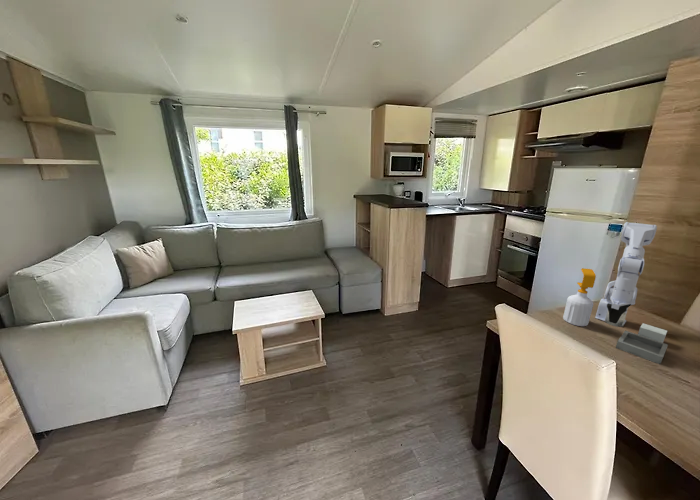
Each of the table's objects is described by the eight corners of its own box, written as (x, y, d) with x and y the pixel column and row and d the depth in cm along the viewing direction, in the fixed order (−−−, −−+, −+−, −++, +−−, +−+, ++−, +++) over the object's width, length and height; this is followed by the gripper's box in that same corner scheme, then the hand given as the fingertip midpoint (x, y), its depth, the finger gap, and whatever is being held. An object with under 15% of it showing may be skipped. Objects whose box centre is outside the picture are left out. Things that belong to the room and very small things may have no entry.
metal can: (603, 322, 115) (606, 311, 113) (606, 318, 118) (610, 307, 116) (620, 328, 110) (624, 316, 109) (624, 323, 114) (627, 312, 112)
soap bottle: (583, 317, 132) (596, 267, 124) (591, 328, 123) (606, 274, 116) (559, 314, 134) (571, 265, 127) (566, 324, 126) (579, 272, 119)
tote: (615, 347, 110) (617, 341, 109) (623, 336, 117) (625, 330, 116) (660, 364, 101) (662, 357, 100) (665, 351, 108) (668, 344, 107)
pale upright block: (636, 338, 117) (640, 327, 115) (639, 333, 120) (642, 323, 118) (661, 346, 111) (665, 335, 110) (663, 341, 114) (667, 330, 113)
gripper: (634, 297, 103) (623, 330, 106) (642, 287, 111) (632, 318, 115) (608, 290, 108) (599, 322, 112) (618, 281, 116) (609, 311, 120)
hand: (614, 320), depth 114 cm, fingers closed on metal can, 5 cm apart
